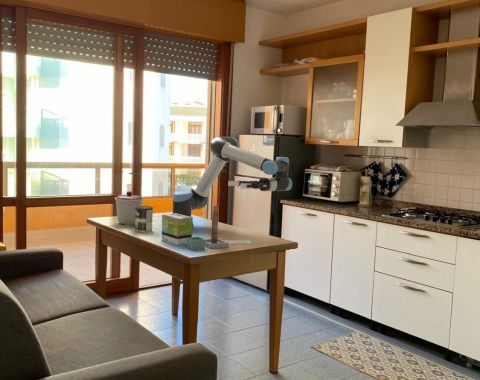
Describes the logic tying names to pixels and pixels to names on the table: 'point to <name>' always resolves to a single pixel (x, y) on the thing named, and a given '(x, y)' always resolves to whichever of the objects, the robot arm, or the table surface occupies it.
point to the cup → (195, 243)
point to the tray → (216, 244)
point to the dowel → (214, 224)
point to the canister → (127, 207)
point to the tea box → (176, 228)
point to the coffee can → (143, 218)
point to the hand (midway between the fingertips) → (234, 184)
